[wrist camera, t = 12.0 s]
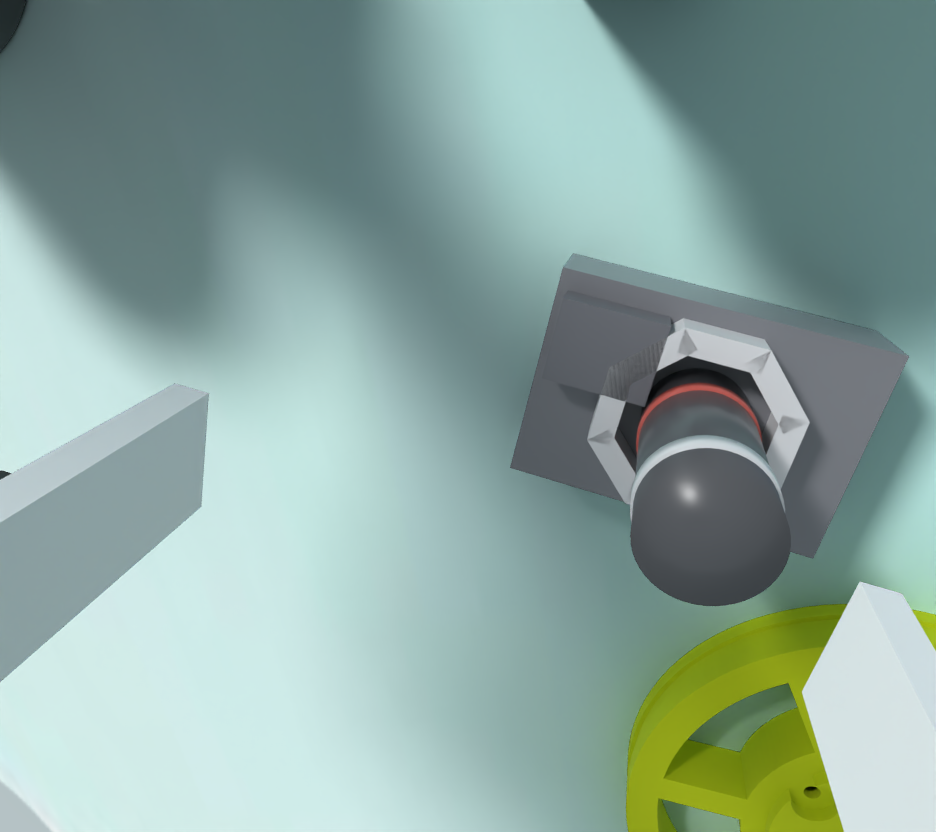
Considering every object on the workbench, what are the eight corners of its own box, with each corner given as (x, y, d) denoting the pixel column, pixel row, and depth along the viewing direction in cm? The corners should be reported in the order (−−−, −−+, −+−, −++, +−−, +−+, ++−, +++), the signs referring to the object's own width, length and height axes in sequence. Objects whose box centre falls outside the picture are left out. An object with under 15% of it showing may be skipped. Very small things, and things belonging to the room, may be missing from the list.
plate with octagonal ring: (524, 434, 43) (503, 483, 37) (573, 253, 39) (558, 273, 33) (794, 513, 41) (821, 580, 35) (877, 330, 37) (924, 368, 31)
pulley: (551, 692, 50) (541, 747, 45) (980, 527, 39) (1023, 576, 35) (749, 970, 54) (758, 1046, 50) (1181, 888, 44) (1243, 974, 39)
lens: (625, 452, 37) (609, 581, 26) (656, 353, 35) (653, 449, 24) (732, 482, 36) (760, 628, 25) (769, 382, 34) (819, 495, 23)
